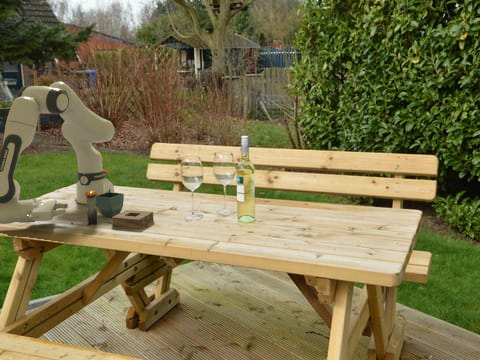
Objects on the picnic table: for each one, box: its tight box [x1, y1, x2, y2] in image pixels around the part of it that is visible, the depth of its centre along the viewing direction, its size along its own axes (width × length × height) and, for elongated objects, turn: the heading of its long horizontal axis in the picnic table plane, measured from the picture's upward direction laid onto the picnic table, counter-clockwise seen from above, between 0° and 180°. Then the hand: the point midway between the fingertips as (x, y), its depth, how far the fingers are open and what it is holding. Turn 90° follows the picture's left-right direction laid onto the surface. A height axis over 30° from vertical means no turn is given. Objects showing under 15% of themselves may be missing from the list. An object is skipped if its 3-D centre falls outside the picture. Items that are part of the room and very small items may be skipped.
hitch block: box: [111, 209, 154, 231], centre depth 215 cm, size 12×12×4 cm
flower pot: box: [96, 192, 125, 218], centre depth 228 cm, size 9×9×9 cm
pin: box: [84, 191, 98, 226], centre depth 215 cm, size 5×5×13 cm
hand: (66, 208), depth 213 cm, fingers open, 8 cm apart
